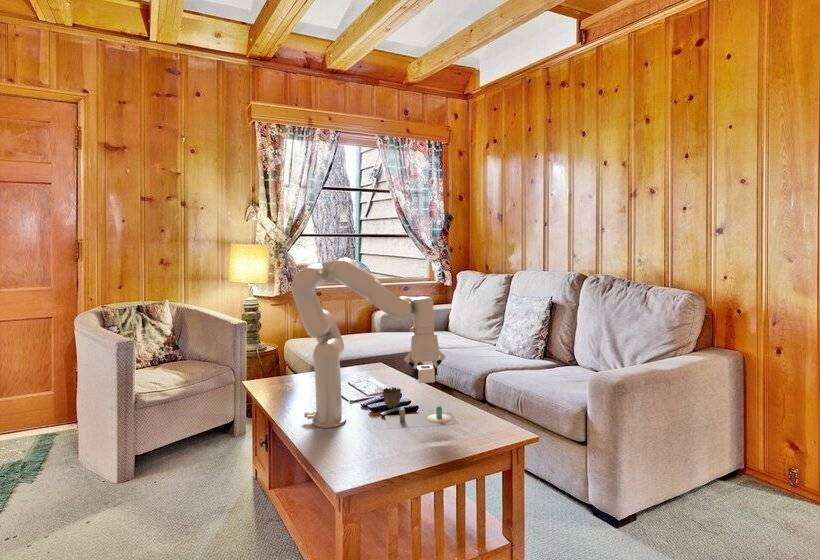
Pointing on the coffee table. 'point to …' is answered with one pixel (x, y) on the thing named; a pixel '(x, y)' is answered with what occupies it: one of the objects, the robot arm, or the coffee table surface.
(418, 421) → the tool board
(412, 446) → the coffee table surface
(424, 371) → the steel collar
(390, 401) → the cup
